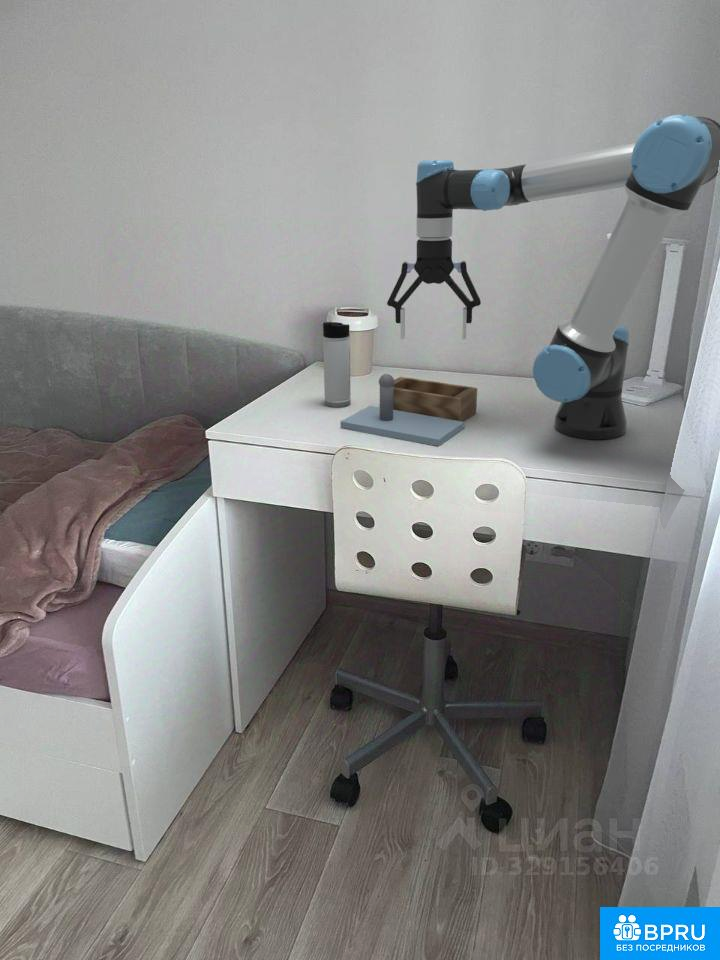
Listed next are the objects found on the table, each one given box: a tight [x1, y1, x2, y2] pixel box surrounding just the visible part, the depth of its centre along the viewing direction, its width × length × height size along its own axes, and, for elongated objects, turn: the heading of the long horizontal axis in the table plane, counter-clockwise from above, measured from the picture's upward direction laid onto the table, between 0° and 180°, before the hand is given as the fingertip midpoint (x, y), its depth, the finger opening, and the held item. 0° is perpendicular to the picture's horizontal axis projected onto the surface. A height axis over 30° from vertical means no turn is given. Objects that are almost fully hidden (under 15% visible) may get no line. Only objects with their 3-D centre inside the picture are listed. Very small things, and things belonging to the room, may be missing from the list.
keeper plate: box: [340, 373, 465, 447], centre depth 173 cm, size 24×13×12 cm, turn 59°
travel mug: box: [322, 321, 352, 408], centre depth 188 cm, size 6×7×20 cm
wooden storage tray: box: [393, 376, 478, 423], centre depth 185 cm, size 20×10×6 cm, turn 59°
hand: (433, 338), depth 176 cm, fingers open, 13 cm apart
